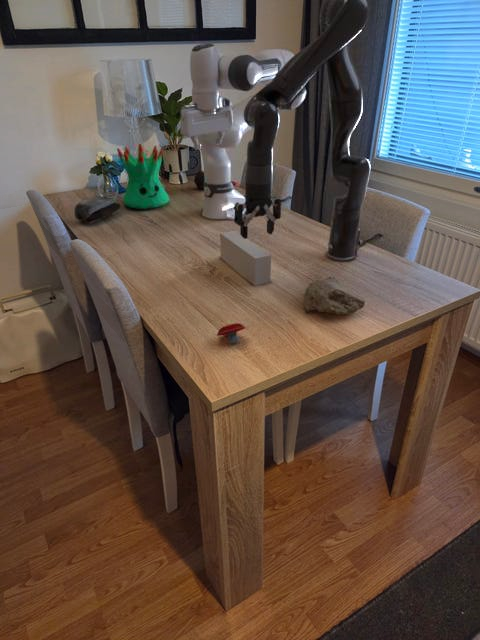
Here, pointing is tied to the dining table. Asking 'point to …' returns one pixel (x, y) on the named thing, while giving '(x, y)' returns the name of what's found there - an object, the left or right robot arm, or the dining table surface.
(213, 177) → the left robot arm
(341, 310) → the artifact
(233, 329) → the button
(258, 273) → the bar
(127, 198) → the toy
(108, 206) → the dark grey case
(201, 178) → the toy
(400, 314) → the dining table surface
